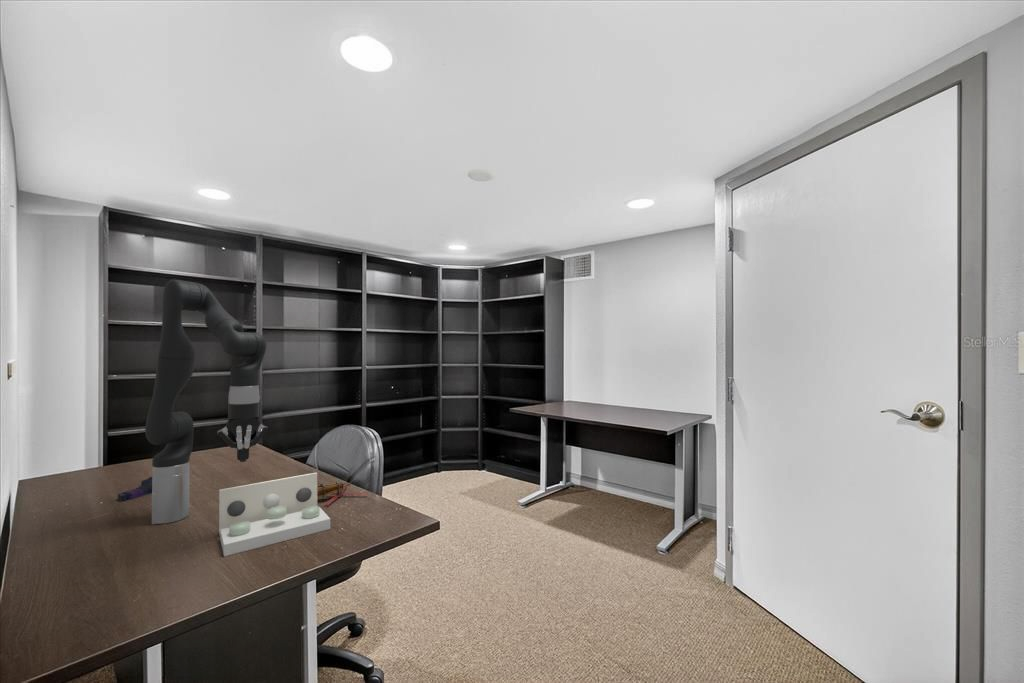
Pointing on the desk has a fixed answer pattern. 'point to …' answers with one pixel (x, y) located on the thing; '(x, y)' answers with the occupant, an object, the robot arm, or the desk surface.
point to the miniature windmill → (331, 490)
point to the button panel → (273, 532)
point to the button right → (310, 512)
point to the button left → (239, 528)
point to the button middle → (276, 512)
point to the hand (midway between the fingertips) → (242, 461)
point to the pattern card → (266, 499)
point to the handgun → (137, 491)
